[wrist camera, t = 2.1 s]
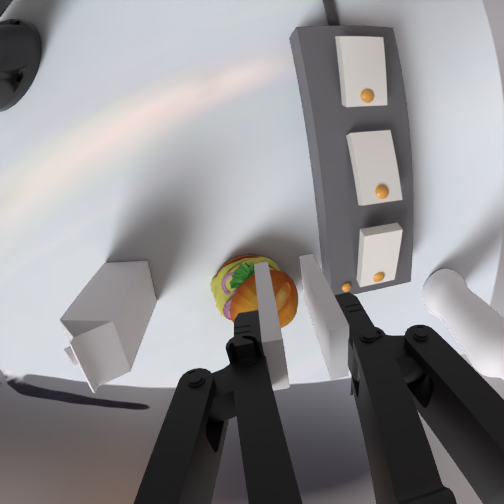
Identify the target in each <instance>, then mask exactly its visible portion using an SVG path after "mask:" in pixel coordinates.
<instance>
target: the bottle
mask: <svg viewBox="0 0 504 504" xmlns="http://www.w3.org/2000/svg"><path fill="white" fill-rule="evenodd" d="M422 300H423V303H424V305H425V306H426V308H427V310H428V311H429V312H430V313H431V314H432V315H433V316H435V317H436V318H439V319H441V320H442V321H443V323H444V324H445V325H446V326H447V328H448V329H449V331H450V332H451V334H452V335H453V336H454V338H455V339H456V341H457V342H458V344H459V345H460V347H461V348H462V350H463V351H464V353H465V354H466V356H467V357H468V359H469V360H470V362H471V363H472V365H473V366H474V368H475V369H476V370H477V371H478V372H480V373H481V374H483V375H485V376H488V377H500V378H502V379H503V380H504V317H503V316H501V315H500V314H499V313H498V312H497V311H495V310H494V309H493V308H492V307H491V306H489V305H488V304H487V303H486V302H484V301H483V300H482V299H481V298H479V297H478V296H477V295H476V294H474V293H473V292H472V291H471V290H470V289H469V288H468V287H467V284H466V282H465V280H464V279H463V278H462V277H461V276H460V275H459V274H458V273H456V272H455V271H453V270H450V269H441V270H438V271H436V272H434V273H433V274H432V275H431V276H430V277H429V278H428V279H427V281H426V282H425V284H424V287H423V290H422Z"/></svg>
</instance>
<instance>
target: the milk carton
mask: <svg viewBox="0 0 504 504" xmlns="http://www.w3.org/2000/svg"><path fill="white" fill-rule="evenodd" d="M156 303H157V301H156V296H155V292H154V287H153V283H152V278H151V273H150V268H149V263H148V261H147V260H146V261H130V262H114V263H104V264H103V265H102V267H101V268H100V269H99V270H98V271H97V273H96V274H95V275H94V276H93V277H92V279H91V280H90V281H89V282H88V284H87V285H86V286H85V287H84V289H83V290H82V291H81V293H80V294H79V295H78V296H77V298H76V299H75V300H74V302H73V303H72V304H71V305H70V307H69V308H68V309H67V311H66V312H65V313H64V315H63V316H62V318H61V319H60V322H61V324H62V327H63V329H64V332H65V334H66V337H67V339H68V341H69V343H70V344H69V345H70V346H69V347H68V348H66V349H64V352H65V354H66V356H67V358H68V360H69V362H70V363H71V364H72V366H76V365H78V364H79V366H80V368H81V370H82V372H83V374H84V376H85V378H86V380H87V382H88V384H89V386H90V388H91V390H92V392H93V393H95V392H96V389H97V387H98V386H100V385H102V384H104V383H106V382H109V381H111V380H113V379H115V378H117V377H119V376H121V375H123V374H125V373H127V372H129V371H131V368H132V366H133V363H134V360H135V357H136V355H137V352H138V349H139V347H140V344H141V341H142V339H143V336H144V333H145V331H146V328H147V326H148V323H149V321H150V318H151V316H152V313H153V310H154V308H155V305H156Z"/></svg>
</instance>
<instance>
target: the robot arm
mask: <svg viewBox="0 0 504 504" xmlns="http://www.w3.org/2000/svg"><path fill="white" fill-rule="evenodd" d="M12 1H13V0H0V17H1V16H2V14H3V13H4V11H5V10H6V9H7V7H8V6H9V5H10V4H11V2H12ZM40 57H41V39H40V35H39V32H38V30H37V29H36V27H35V26H34V25H33V24H31V23H29V22H26V21H23V20H20V19H10V20H5V21H0V112H1V111H5V110H7V109H9V108H11V107H12V106H13V105H15V104H16V103H17V102H18V101H19V100H20V99H21V98H22V97H23V96H24V94H25V93H26V91H27V90H28V88H29V87H30V85H31V83H32V81H33V79H34V77H35V75H36V72H37V69H38V66H39V62H40ZM299 258H300V267H301V275H302V284H303V293H304V300H305V303H306V306H307V309H308V311H309V314H310V317H311V320H312V323H313V326H314V329H315V332H316V335H317V338H318V341H319V344H320V348H321V351H322V354H323V357H324V360H325V363H326V366H327V369H328V372H329V375H330V379H336V378H340V377H344V376H348V368H349V370H350V372H351V375H352V378H351V395H353V393H354V397H355V401H356V405H357V410H358V414H359V419H360V423H361V428H362V432H363V437H364V442H365V446H366V451H367V456H368V461H369V466H370V471H371V476H372V482H373V487H374V493H375V499H376V504H457V503H456V499H455V497H454V494H453V492H452V491H451V490H450V489H449V488H446V487H444V486H443V484H442V482H441V479H440V476H439V473H438V470H437V466H436V464H435V460H434V458H433V454H432V451H431V448H430V445H429V442H428V440H427V437H426V434H425V431H424V428H423V425H422V423H421V420H420V417H419V415H418V412H419V413H420V414H421V416H422V417H423V419H424V420H425V421H426V423H427V424H428V425H429V427H430V428H431V430H432V431H433V432H434V434H435V435H436V436H437V438H438V439H439V441H440V442H441V443H442V445H443V446H444V448H445V449H446V450H447V452H448V453H449V455H450V456H451V458H452V459H453V460H454V462H455V463H456V465H457V466H458V468H459V469H460V470H461V472H462V473H463V474H464V476H465V478H466V479H467V480H468V482H469V483H470V485H471V486H472V488H473V489H474V491H475V492H476V494H477V495H478V497H479V498H480V500H481V501H482V503H483V504H504V400H503V399H502V398H501V397H500V395H499V394H498V393H497V392H496V391H495V390H494V389H493V388H492V387H491V386H490V385H489V384H488V383H487V382H486V381H485V380H484V379H483V378H482V377H481V376H480V375H479V374H478V373H477V372H476V371H475V370H474V369H473V368H472V367H471V366H470V365H469V364H468V363H467V362H466V361H465V360H464V359H463V358H462V357H461V356H460V355H459V354H458V353H457V352H456V351H455V350H454V349H453V348H452V347H451V346H450V345H449V344H448V343H447V342H446V341H445V340H444V339H443V338H442V337H441V336H440V335H439V334H438V333H437V332H436V331H434V330H433V329H432V328H430V327H429V326H425V325H415V326H411V327H410V328H408V329H407V331H406V332H405V335H404V336H390V335H386V334H385V333H384V332H383V330H381V329H379V328H378V327H374V325H373V323H372V322H371V320H370V318H369V317H368V315H367V313H366V312H365V310H364V308H363V306H362V305H361V303H360V301H359V300H358V298H357V297H356V296H355V295H353V294H351V293H350V292H347V293H342V294H338V295H334V294H333V292H332V290H331V288H330V286H329V284H328V282H327V280H326V278H325V276H324V274H323V272H322V270H321V268H320V266H319V264H318V263H317V261H316V259H315V257H314V255H313V254H308V255H303V256H299ZM254 271H255V281H256V291H257V300H258V310H254V311H248V312H242V313H238V315H237V316H236V318H235V320H234V337H233V338H231V339H230V340H229V341H228V343H227V344H226V351H227V354H228V357H229V361H230V364H229V365H228V366H227V367H225V368H224V369H222V370H219V371H217V372H214V373H211V372H210V371H208V370H207V369H202V368H197V369H192V370H190V371H187V372H186V373H185V374H183V375H182V377H181V378H180V380H179V383H178V385H177V388H176V390H175V393H174V396H173V398H172V401H171V404H170V406H169V409H168V411H167V414H166V417H165V419H164V422H163V425H162V428H161V430H160V433H159V435H158V438H157V441H156V444H155V446H154V449H153V452H152V454H151V457H150V460H149V463H148V465H147V468H146V471H145V474H144V476H143V479H142V482H141V485H140V488H139V490H138V493H137V496H136V499H135V502H134V504H211V501H212V497H213V492H214V488H215V483H216V478H217V473H218V468H219V464H220V459H221V454H222V449H223V445H224V440H225V435H226V431H227V426H228V420H229V419H230V418H233V417H235V416H237V422H238V429H239V437H240V445H241V451H242V459H243V466H244V473H245V480H246V486H247V493H248V500H249V504H302V500H301V497H300V493H299V489H298V485H297V481H296V478H295V474H294V470H293V466H292V463H291V459H290V455H289V451H288V447H287V443H286V439H285V436H284V431H283V427H282V424H281V420H280V416H279V412H278V408H277V404H276V400H275V396H274V392H273V390H279V389H285V388H290V385H289V378H288V371H287V364H286V358H285V351H284V345H283V338H282V333H281V328H280V323H279V317H278V312H277V307H276V302H275V296H274V291H273V286H272V281H271V276H270V271H269V266H268V262H263V263H257V264H254ZM417 410H418V412H417Z"/></svg>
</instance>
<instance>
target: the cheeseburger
mask: <svg viewBox="0 0 504 504" xmlns="http://www.w3.org/2000/svg"><path fill="white" fill-rule="evenodd" d="M263 262H268V266H269V271H270V276H271V281H272V286H273V291H274V296H275V302H276V307H277V312H278V317H279V323H280V328H282V327H284V326H286V325H288V324H289V323H290V322H291V321H292V320H293V318H294V317H295V315H296V312H297V306H298V293H297V289H296V286H295V284H294V282H293V280H292V279H291V278H290V277H289V276H288V275H287V274H286V273H285V272H282V271H281V270H280V268H279V267H278V266H277V264H276V263H275V262H274V261H272V260H270V259H268V258H266V257H263V256H261V257H260V256H255V255H250V254H248V255H243V256H238V257H235V258H233V259H232V260H230V261H228V262H226V263H225V264H224V265H223V266H222V268H221V269H220V270H219V271H218V273H217V274H216V275H215V276H214V277H213V278H212V281H211V291H212V293H213V296H214V298H215V300H216V306H217V309H218V310H219V312H220V313H221V315H223V316H224V317H225V318H227V319H229V320H232V321H233V323H234V320H235V318H236V316H237V315H238V313H242V312H248V311H254V310H258V300H257V291H256V281H255V271H254V264H257V263H263Z"/></svg>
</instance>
